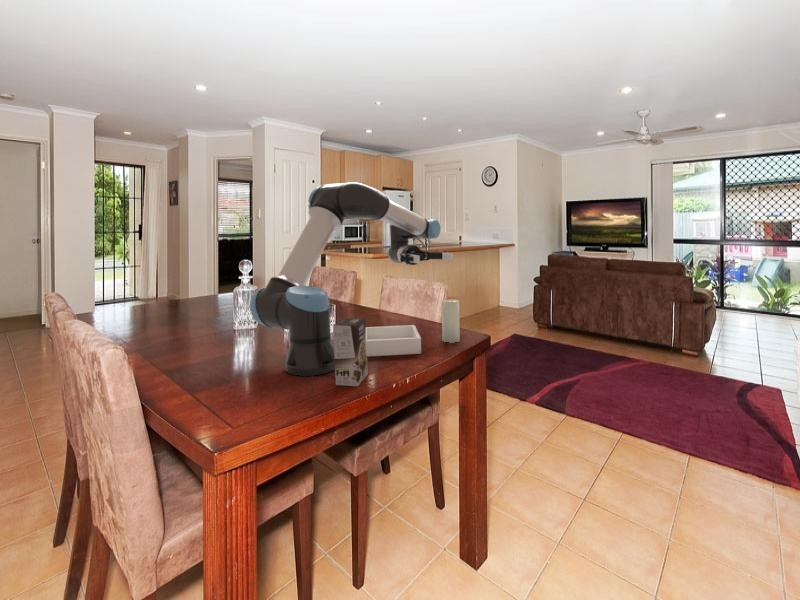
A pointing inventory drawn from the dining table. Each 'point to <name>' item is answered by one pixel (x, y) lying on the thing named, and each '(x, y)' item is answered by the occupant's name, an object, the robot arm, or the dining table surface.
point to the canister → (450, 321)
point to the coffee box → (350, 351)
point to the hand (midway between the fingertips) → (435, 258)
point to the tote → (392, 340)
